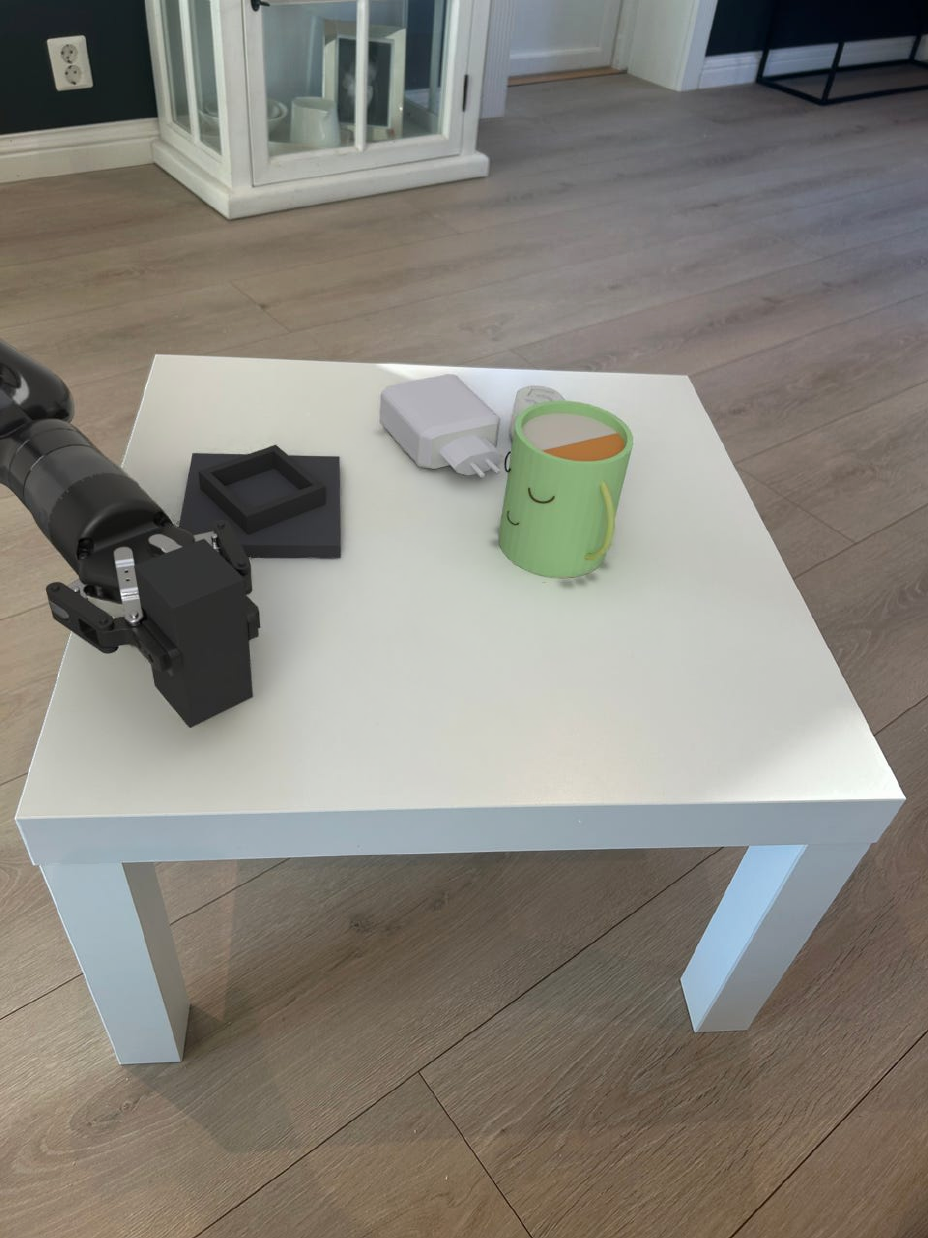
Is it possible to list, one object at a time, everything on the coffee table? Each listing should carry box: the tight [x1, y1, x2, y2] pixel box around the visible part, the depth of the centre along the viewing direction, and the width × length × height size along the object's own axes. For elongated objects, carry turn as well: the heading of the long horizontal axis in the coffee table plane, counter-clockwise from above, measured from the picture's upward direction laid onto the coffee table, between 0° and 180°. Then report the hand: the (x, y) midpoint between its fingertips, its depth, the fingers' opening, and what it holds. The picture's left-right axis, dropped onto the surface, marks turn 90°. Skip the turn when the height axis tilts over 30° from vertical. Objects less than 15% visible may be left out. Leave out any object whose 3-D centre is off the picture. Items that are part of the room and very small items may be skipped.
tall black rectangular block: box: [134, 539, 254, 729], centre depth 65 cm, size 5×5×11 cm
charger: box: [379, 373, 505, 478], centre depth 97 cm, size 5×9×15 cm
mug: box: [498, 400, 634, 579], centre depth 85 cm, size 13×10×12 cm
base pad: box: [178, 444, 342, 559], centre depth 88 cm, size 14×14×4 cm
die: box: [508, 385, 566, 441], centre depth 101 cm, size 5×5×5 cm
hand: (215, 646), depth 63 cm, fingers closed on tall black rectangular block, 5 cm apart
